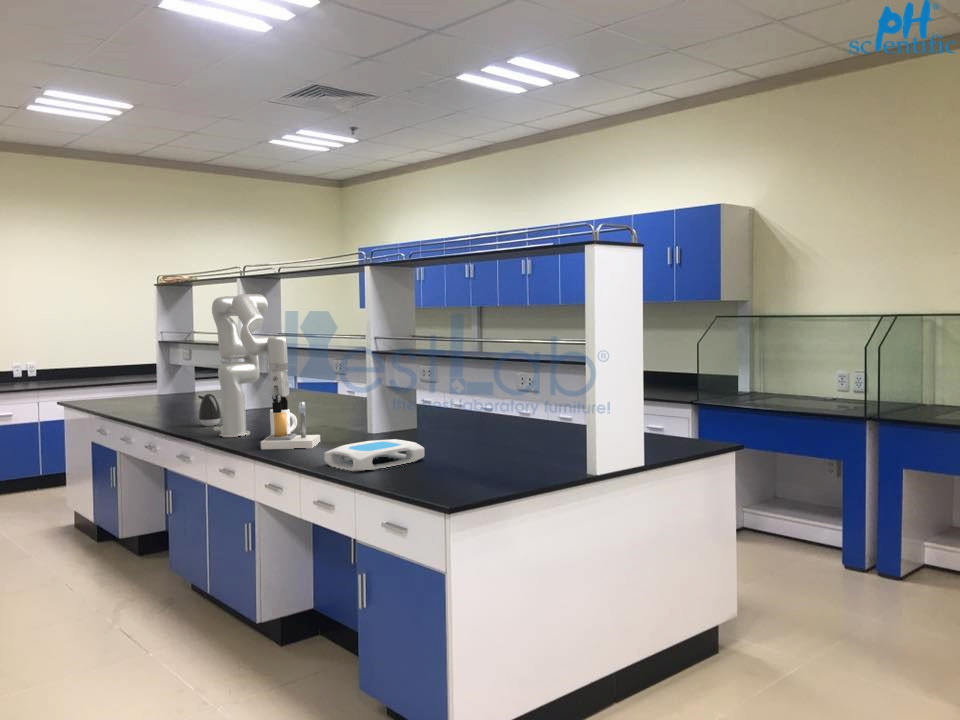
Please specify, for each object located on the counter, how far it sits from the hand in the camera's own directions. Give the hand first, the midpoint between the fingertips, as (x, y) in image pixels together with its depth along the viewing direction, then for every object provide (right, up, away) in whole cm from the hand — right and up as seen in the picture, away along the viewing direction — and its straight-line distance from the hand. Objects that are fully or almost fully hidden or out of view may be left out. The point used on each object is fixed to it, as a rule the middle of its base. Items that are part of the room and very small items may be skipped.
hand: (280, 411), depth 309 cm
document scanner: (+42, -16, -37) cm, 59 cm away
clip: (+10, -11, -5) cm, 16 cm away
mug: (-4, -13, +22) cm, 26 cm away
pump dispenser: (-49, -11, +62) cm, 80 cm away
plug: (0, -11, +1) cm, 11 cm away
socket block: (+4, -14, +1) cm, 14 cm away
